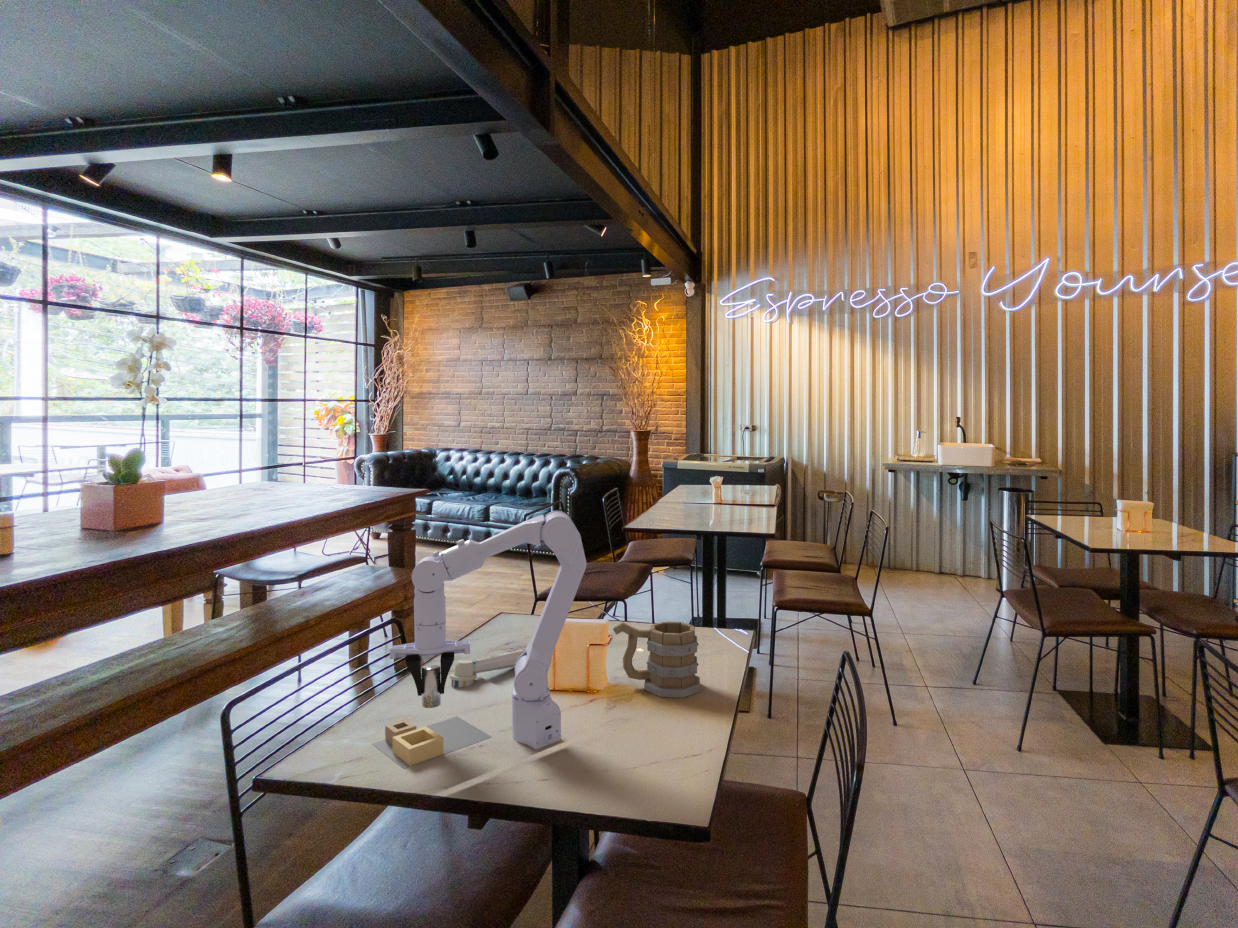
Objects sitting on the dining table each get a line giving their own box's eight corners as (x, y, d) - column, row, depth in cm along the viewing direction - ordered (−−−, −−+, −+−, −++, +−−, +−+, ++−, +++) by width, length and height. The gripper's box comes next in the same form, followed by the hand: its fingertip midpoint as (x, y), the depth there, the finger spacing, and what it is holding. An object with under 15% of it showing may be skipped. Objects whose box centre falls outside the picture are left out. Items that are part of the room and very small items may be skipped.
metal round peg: (443, 704, 131) (443, 668, 131) (426, 709, 129) (426, 672, 129) (435, 699, 134) (435, 663, 134) (419, 703, 132) (418, 667, 132)
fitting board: (492, 740, 134) (491, 721, 134) (403, 772, 122) (403, 751, 121) (457, 719, 143) (456, 701, 143) (371, 747, 131) (371, 728, 131)
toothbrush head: (540, 648, 177) (461, 661, 158) (538, 675, 177) (458, 690, 158) (526, 644, 181) (447, 656, 161) (524, 670, 180) (444, 685, 161)
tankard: (699, 678, 167) (699, 616, 166) (700, 698, 154) (700, 632, 153) (616, 675, 169) (616, 614, 168) (610, 695, 156) (610, 629, 155)
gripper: (469, 613, 136) (470, 681, 137) (391, 618, 133) (393, 687, 134) (469, 623, 129) (470, 695, 130) (387, 628, 126) (389, 702, 127)
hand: (431, 692), depth 131 cm, fingers closed on metal round peg, 3 cm apart
